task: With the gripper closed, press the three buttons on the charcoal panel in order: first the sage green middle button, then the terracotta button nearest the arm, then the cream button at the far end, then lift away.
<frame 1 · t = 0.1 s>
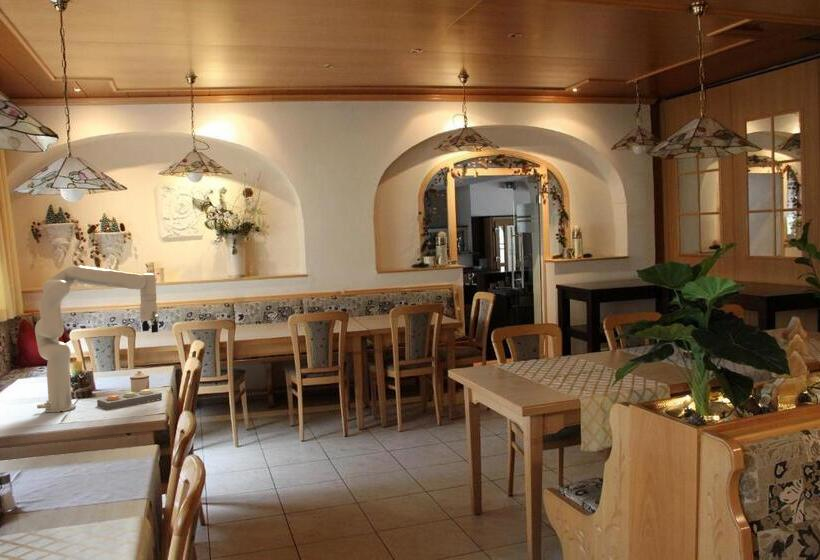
hand: (150, 331, 352), 31 cm above the table, tool pointing down, fingers open, 9 cm apart
button panel: (130, 402, 332), on the table
sage button: (129, 396, 332), point 3 cm above the table, slide at 0.0 cm
teacup with lid: (140, 393, 353), on the table
cream button: (146, 393, 338), point 3 cm above the table, slide at 0.0 cm
terracotta button: (113, 399, 326), point 3 cm above the table, slide at 0.0 cm
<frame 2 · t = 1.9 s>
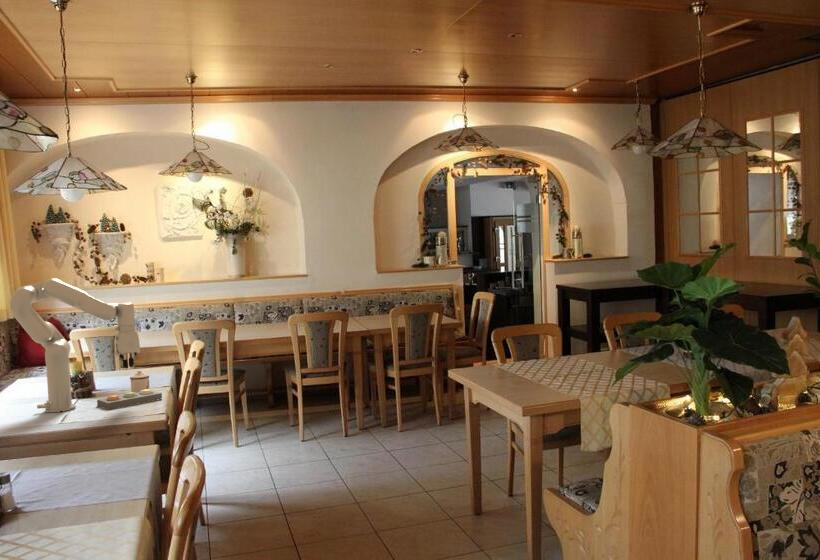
hand: (128, 366, 331), 17 cm above the table, tool pointing down, fingers closed
nothing on the table moved.
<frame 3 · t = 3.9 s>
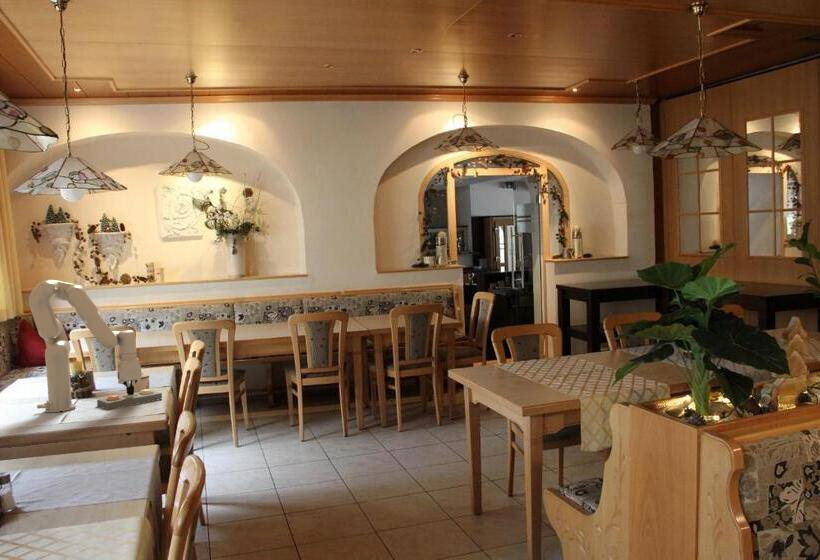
hand: (130, 394, 332), 4 cm above the table, tool pointing down, fingers closed
sage button: (130, 397, 332), point 2 cm above the table, slide at 0.7 cm, touching gripper
everything else where it was.
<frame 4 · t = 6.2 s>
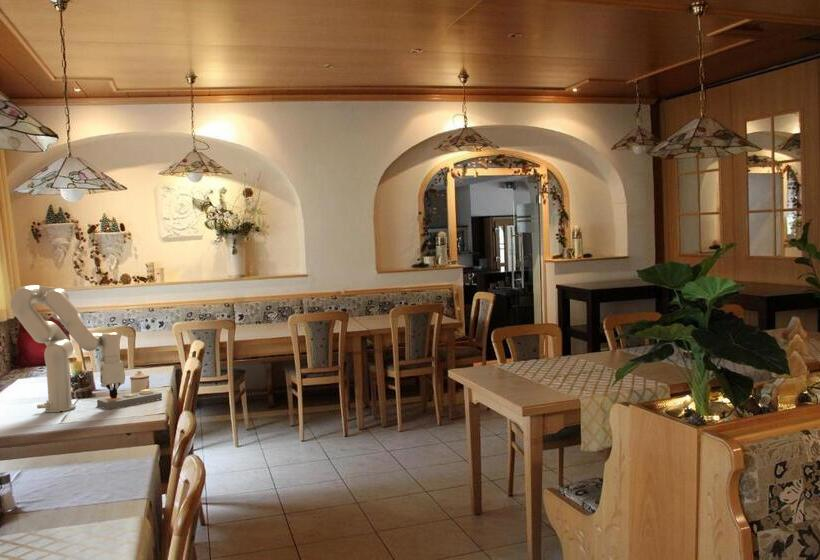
hand: (113, 397, 326), 4 cm above the table, tool pointing down, fingers closed
sage button: (130, 398, 332), point 2 cm above the table, slide at 0.9 cm
terracotta button: (113, 401, 326), point 2 cm above the table, slide at 0.8 cm
everything else where it was.
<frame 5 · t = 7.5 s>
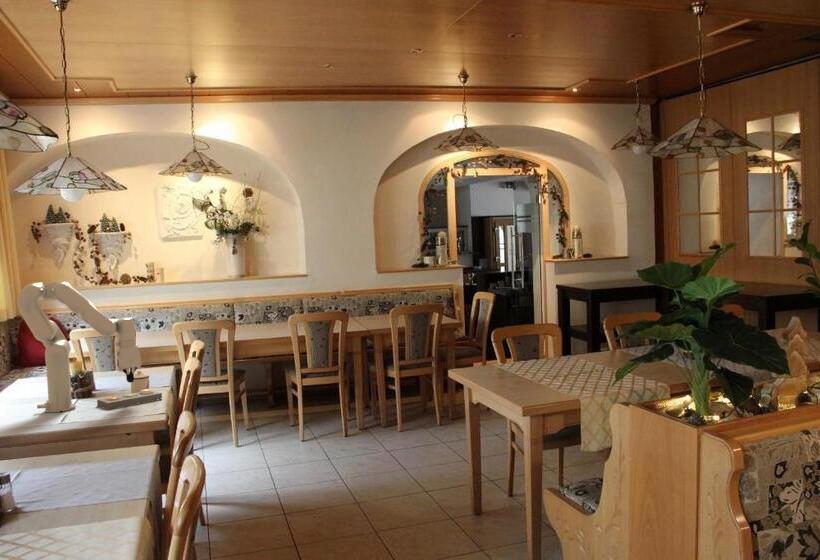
hand: (130, 381, 331), 10 cm above the table, tool pointing down, fingers closed
nothing on the table moved.
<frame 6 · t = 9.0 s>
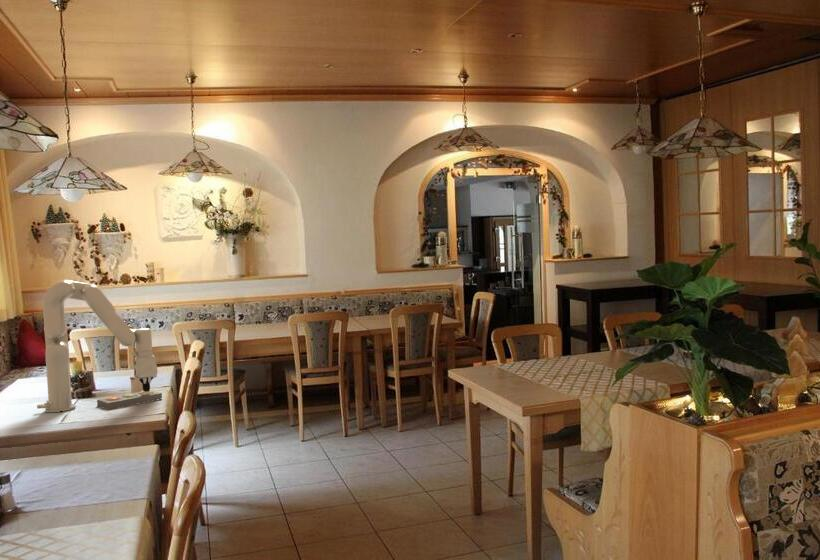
hand: (146, 391, 338), 4 cm above the table, tool pointing down, fingers closed
cream button: (146, 394, 338), point 3 cm above the table, slide at 0.5 cm, touching gripper
everything else where it was.
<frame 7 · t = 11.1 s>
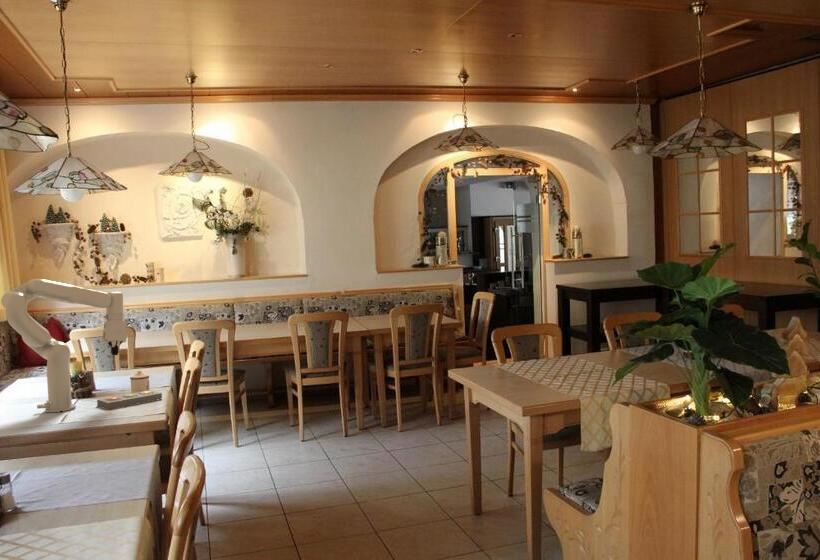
hand: (114, 354, 338), 22 cm above the table, tool pointing down, fingers closed
cream button: (146, 395, 338), point 2 cm above the table, slide at 0.9 cm
everything else where it was.
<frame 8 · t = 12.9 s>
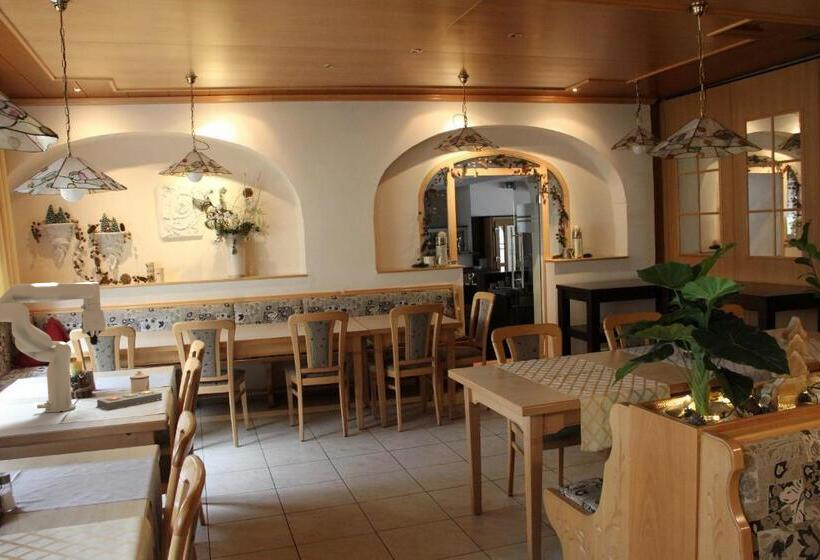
hand: (94, 344, 340), 27 cm above the table, tool pointing down, fingers closed
nothing on the table moved.
at the end: sage button slide at 0.9 cm; terracotta button slide at 0.9 cm; cream button slide at 0.9 cm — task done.
